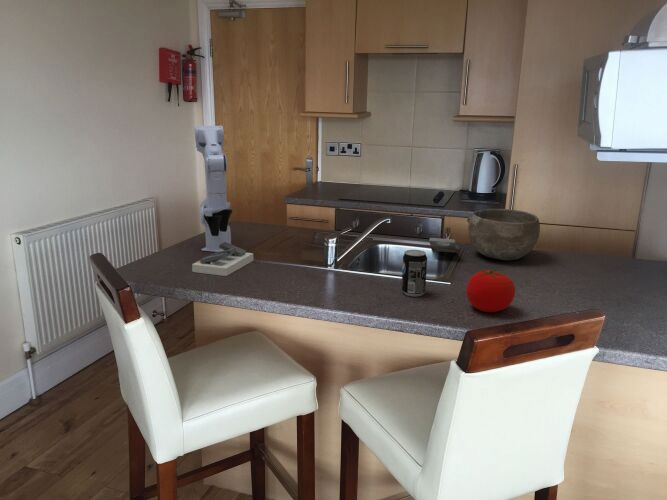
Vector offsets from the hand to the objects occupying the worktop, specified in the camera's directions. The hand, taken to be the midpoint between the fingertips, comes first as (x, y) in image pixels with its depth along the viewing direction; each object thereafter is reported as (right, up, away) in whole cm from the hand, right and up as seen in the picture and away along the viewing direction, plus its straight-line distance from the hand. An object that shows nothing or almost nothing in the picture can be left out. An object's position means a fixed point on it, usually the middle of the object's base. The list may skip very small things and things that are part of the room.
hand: (219, 233), depth 180 cm
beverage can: (+60, -18, -25) cm, 67 cm away
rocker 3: (+4, -6, +3) cm, 7 cm away
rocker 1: (0, -9, -7) cm, 11 cm away
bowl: (+96, -8, +12) cm, 97 cm away
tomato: (+78, -21, -36) cm, 88 cm away
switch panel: (+2, -11, -1) cm, 11 cm away
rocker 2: (+2, -7, -2) cm, 8 cm away
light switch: (+76, -8, +12) cm, 77 cm away
